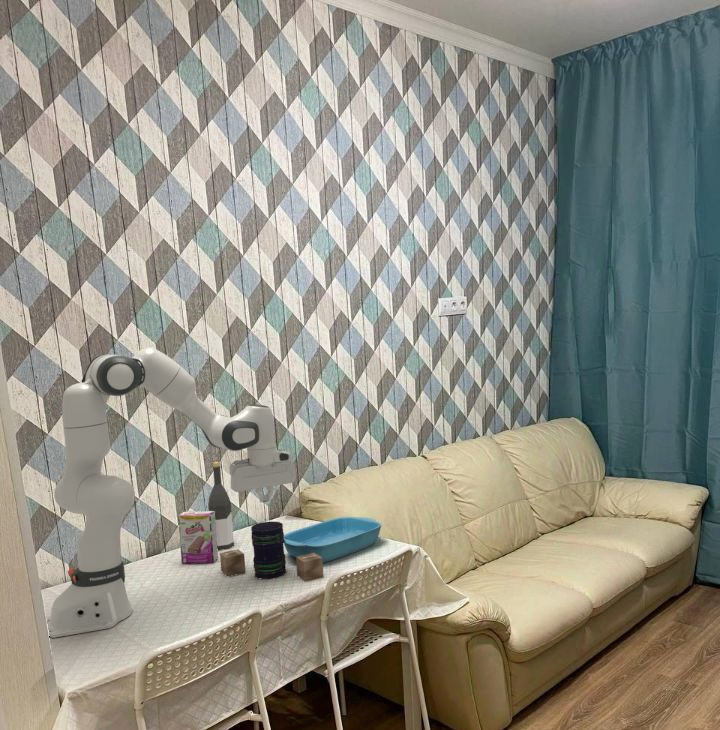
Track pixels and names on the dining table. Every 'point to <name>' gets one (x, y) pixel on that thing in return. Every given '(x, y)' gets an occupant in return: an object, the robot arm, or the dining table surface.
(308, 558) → the walnut block one
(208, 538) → the candy bar box
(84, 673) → the dining table surface
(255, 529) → the dark blue rusty barrel
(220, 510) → the wine bottle
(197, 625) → the dining table surface
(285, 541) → the casserole dish
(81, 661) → the dining table surface
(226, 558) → the walnut block seven
